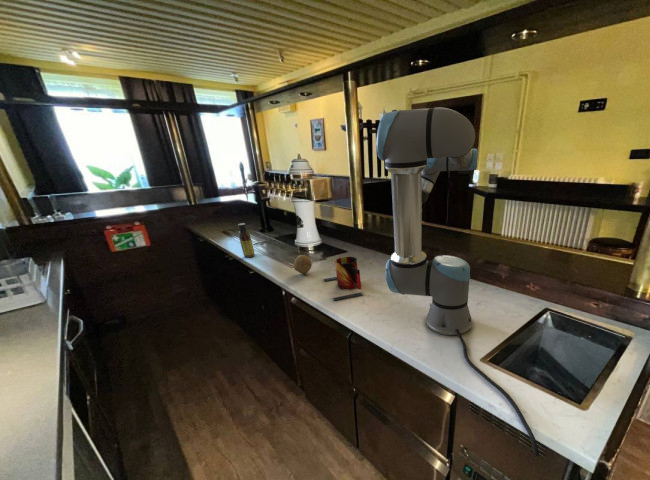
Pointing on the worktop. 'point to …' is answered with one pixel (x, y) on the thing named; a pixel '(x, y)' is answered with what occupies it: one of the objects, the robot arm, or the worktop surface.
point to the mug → (347, 273)
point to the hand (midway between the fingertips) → (397, 242)
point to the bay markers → (343, 296)
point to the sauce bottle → (245, 241)
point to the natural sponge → (302, 264)
